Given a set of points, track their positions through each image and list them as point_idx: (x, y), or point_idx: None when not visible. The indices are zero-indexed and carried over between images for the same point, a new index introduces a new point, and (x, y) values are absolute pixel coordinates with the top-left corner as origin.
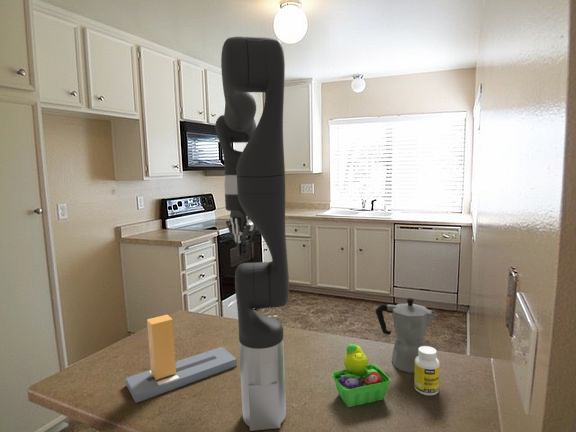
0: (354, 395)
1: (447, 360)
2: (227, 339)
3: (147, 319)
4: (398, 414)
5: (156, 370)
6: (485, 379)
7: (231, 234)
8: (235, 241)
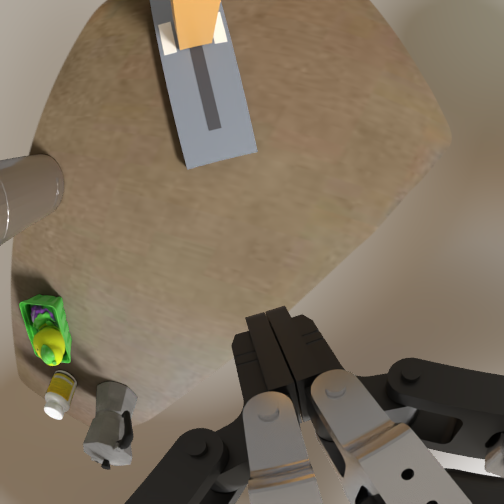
0: (29, 309)
1: None
2: (310, 177)
3: None
4: (27, 332)
5: (172, 13)
6: (81, 420)
7: (442, 380)
8: (336, 374)
